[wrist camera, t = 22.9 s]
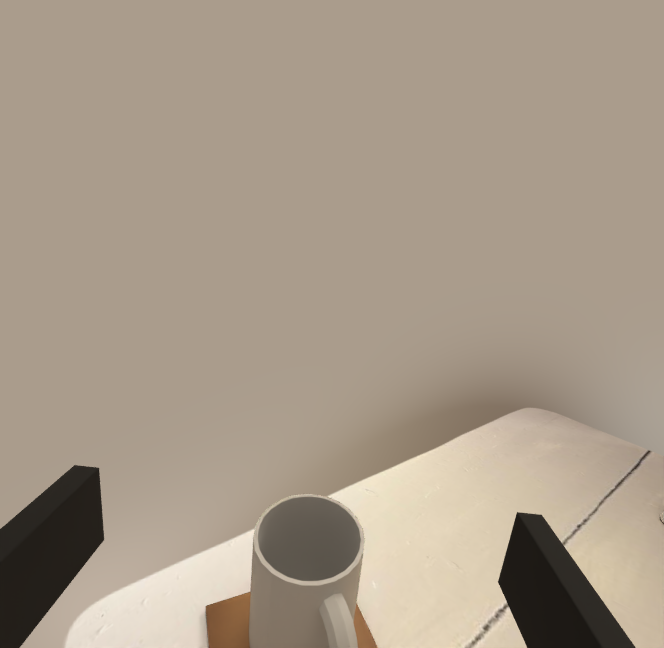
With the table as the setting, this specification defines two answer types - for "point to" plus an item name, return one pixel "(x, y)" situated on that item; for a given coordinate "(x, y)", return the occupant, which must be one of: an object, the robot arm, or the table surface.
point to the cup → (305, 574)
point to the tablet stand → (662, 516)
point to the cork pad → (233, 624)
